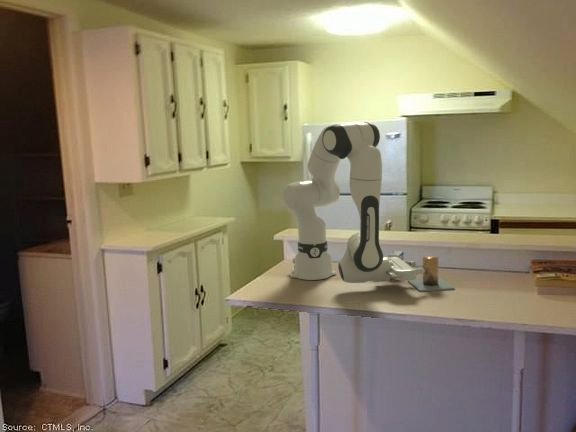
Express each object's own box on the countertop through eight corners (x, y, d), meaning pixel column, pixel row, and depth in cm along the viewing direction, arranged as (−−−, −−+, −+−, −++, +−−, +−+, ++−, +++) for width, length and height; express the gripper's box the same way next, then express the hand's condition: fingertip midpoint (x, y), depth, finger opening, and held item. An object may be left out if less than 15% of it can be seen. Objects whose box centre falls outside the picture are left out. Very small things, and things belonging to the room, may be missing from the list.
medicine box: (399, 277, 206) (399, 255, 205) (388, 276, 208) (388, 254, 207) (403, 271, 213) (403, 251, 212) (393, 271, 215) (393, 250, 214)
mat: (407, 281, 200) (407, 280, 200) (440, 279, 201) (440, 277, 201) (419, 291, 187) (419, 290, 187) (454, 289, 188) (454, 287, 188)
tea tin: (420, 282, 196) (420, 256, 195) (434, 281, 197) (434, 255, 195) (426, 286, 191) (426, 259, 189) (440, 285, 191) (440, 258, 190)
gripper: (391, 268, 180) (429, 265, 182) (375, 254, 201) (410, 252, 202) (391, 285, 181) (429, 283, 183) (375, 270, 202) (410, 268, 203)
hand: (419, 267), depth 193 cm, fingers open, 8 cm apart
